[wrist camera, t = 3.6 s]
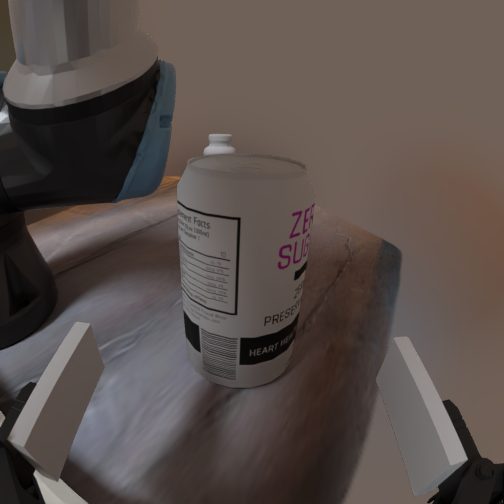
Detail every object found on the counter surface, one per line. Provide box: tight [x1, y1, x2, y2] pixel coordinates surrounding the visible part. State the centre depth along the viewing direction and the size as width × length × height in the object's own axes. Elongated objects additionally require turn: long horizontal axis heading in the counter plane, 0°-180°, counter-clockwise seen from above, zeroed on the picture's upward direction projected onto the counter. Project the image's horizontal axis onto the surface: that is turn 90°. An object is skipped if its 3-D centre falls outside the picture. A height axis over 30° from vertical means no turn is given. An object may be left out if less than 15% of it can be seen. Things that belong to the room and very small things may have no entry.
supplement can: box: [177, 153, 315, 388], centre depth 21 cm, size 8×8×15 cm
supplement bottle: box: [204, 134, 236, 155], centre depth 63 cm, size 7×7×13 cm
